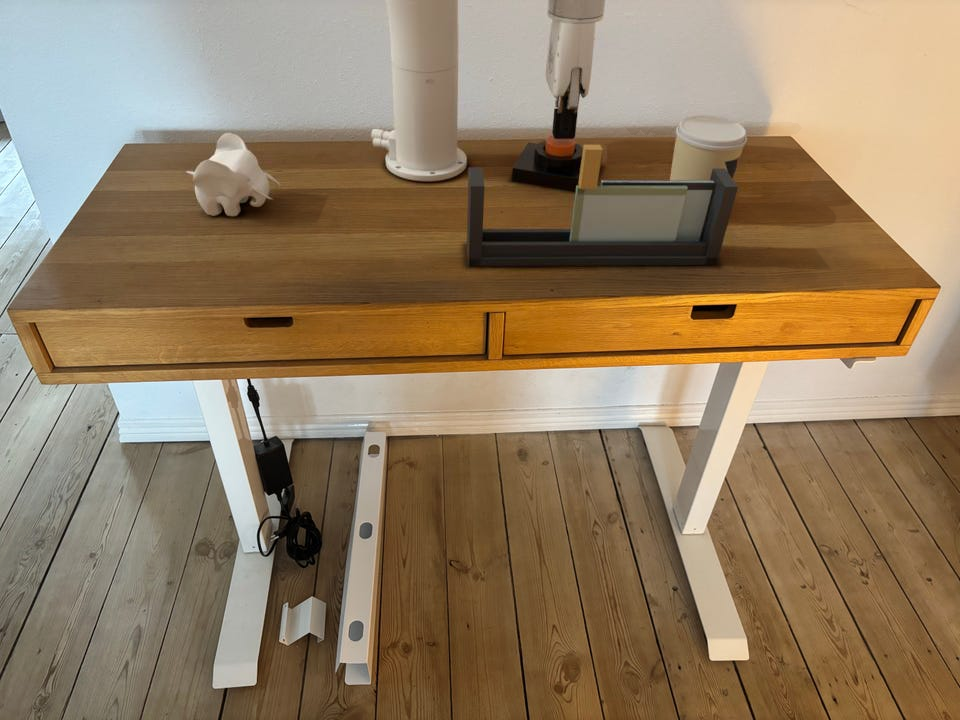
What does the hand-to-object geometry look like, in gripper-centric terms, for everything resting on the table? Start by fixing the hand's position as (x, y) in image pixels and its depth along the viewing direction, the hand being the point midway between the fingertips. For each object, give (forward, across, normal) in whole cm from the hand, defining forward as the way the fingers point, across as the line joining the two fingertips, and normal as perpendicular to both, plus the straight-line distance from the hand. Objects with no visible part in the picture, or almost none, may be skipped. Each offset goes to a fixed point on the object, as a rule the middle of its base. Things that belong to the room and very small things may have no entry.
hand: (563, 136), depth 109 cm
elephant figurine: (+6, +11, -47) cm, 48 cm away
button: (+2, 0, 0) cm, 2 cm away
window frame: (+6, +24, 0) cm, 24 cm away
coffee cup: (+6, +11, +18) cm, 22 cm away
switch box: (+6, 0, 0) cm, 6 cm away
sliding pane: (+5, +24, +4) cm, 25 cm away
